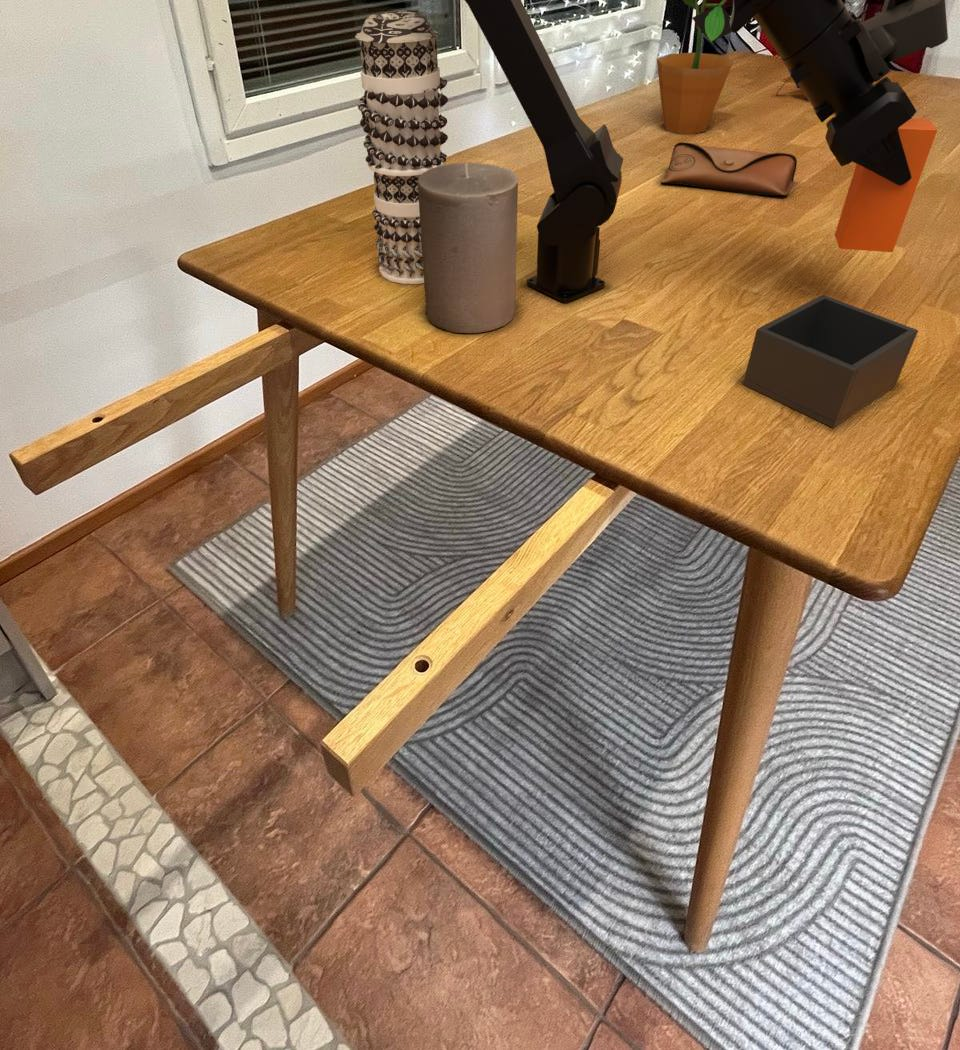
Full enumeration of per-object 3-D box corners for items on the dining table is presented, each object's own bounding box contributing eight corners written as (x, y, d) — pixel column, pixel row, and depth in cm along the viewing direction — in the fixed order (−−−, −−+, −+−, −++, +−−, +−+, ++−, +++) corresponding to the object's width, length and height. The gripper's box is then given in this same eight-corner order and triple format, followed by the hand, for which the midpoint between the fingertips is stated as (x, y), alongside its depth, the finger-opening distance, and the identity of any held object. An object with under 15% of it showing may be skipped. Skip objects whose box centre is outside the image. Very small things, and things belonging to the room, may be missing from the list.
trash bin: (833, 428, 64) (854, 370, 60) (742, 384, 69) (756, 328, 65) (895, 386, 68) (918, 330, 64) (806, 348, 74) (822, 294, 70)
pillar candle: (407, 313, 80) (393, 164, 70) (472, 284, 85) (469, 141, 75) (470, 344, 75) (465, 188, 65) (536, 311, 80) (541, 162, 70)
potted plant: (747, 144, 122) (797, -95, 102) (630, 141, 124) (656, -94, 104) (737, 114, 135) (779, -103, 114) (631, 112, 137) (654, -101, 117)
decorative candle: (468, 273, 87) (462, 17, 70) (396, 292, 84) (371, 27, 67) (433, 247, 93) (418, 4, 76) (364, 263, 90) (333, 13, 73)
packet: (892, 252, 73) (937, 129, 66) (838, 248, 74) (877, 126, 67) (886, 238, 76) (929, 118, 68) (834, 235, 77) (870, 116, 69)
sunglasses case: (658, 181, 108) (669, 131, 106) (663, 194, 114) (673, 147, 113) (789, 196, 103) (803, 144, 101) (786, 208, 109) (799, 159, 108)
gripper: (933, -35, 53) (1029, 142, 59) (887, -62, 66) (968, 84, 72) (787, 86, 60) (886, 235, 65) (772, 40, 73) (855, 166, 79)
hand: (902, 175), depth 70 cm, fingers closed on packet, 3 cm apart
